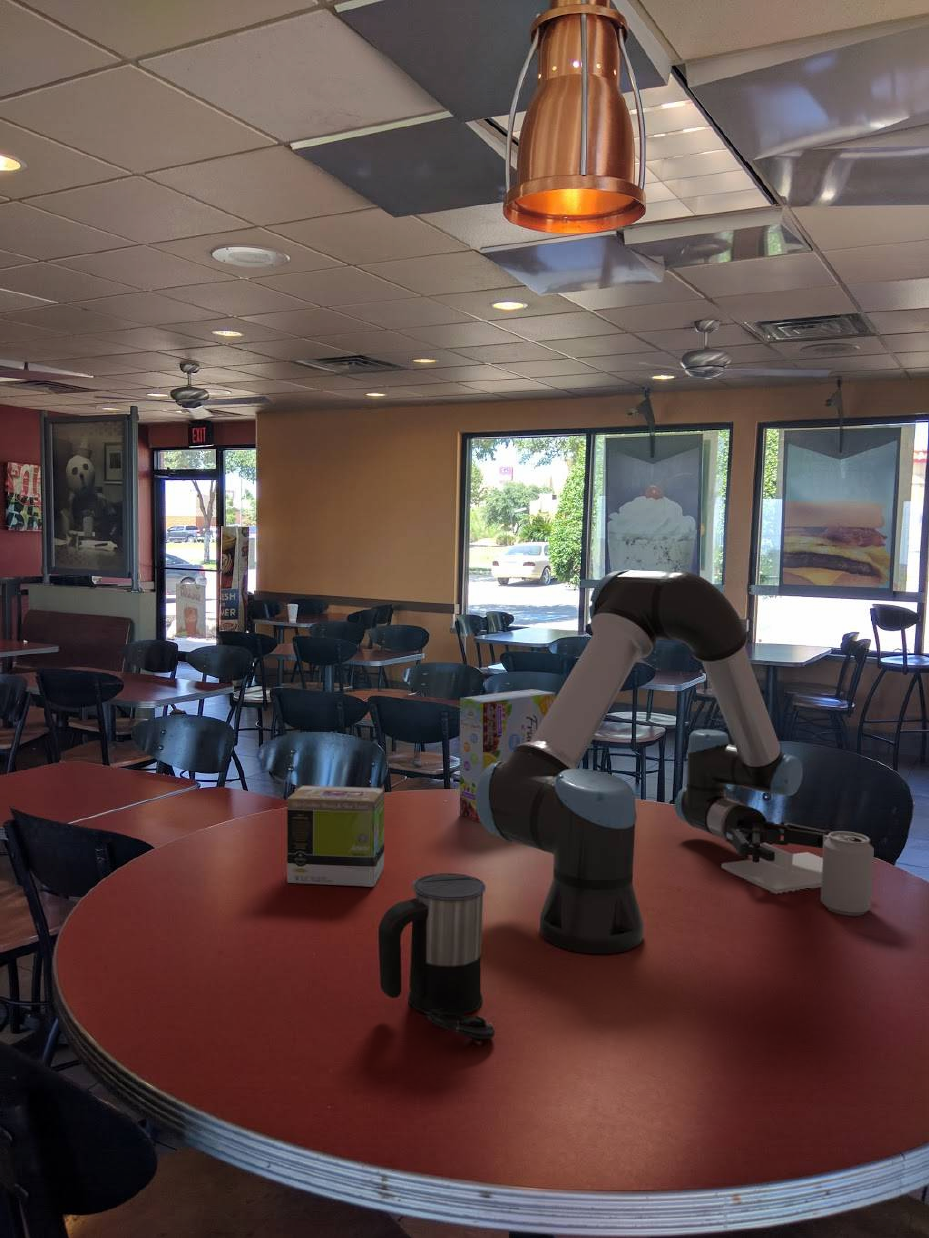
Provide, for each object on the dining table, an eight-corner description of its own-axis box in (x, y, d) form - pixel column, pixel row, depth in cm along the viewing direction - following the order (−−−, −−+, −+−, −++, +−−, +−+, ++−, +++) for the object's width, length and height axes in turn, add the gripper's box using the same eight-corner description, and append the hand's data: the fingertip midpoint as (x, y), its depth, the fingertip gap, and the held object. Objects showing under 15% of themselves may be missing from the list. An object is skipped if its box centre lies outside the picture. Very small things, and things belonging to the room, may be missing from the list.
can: (878, 918, 148) (882, 843, 148) (830, 916, 149) (834, 841, 148) (859, 900, 156) (863, 829, 155) (813, 899, 156) (817, 828, 155)
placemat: (775, 893, 158) (775, 889, 158) (721, 867, 171) (721, 863, 171) (865, 880, 166) (865, 875, 166) (807, 856, 179) (807, 852, 179)
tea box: (384, 869, 166) (386, 786, 165) (373, 889, 156) (375, 801, 155) (301, 864, 168) (302, 782, 167) (284, 884, 158) (285, 797, 157)
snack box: (529, 799, 216) (532, 687, 214) (556, 808, 209) (560, 692, 207) (455, 815, 202) (458, 695, 200) (482, 824, 195) (485, 700, 193)
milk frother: (443, 977, 125) (445, 866, 123) (541, 1016, 114) (544, 896, 113) (365, 1015, 114) (367, 895, 113) (465, 1063, 104) (468, 931, 102)
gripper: (788, 836, 182) (876, 871, 163) (682, 850, 172) (762, 889, 153) (790, 798, 182) (879, 828, 162) (683, 809, 172) (764, 843, 152)
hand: (822, 858), depth 157 cm, fingers open, 13 cm apart
